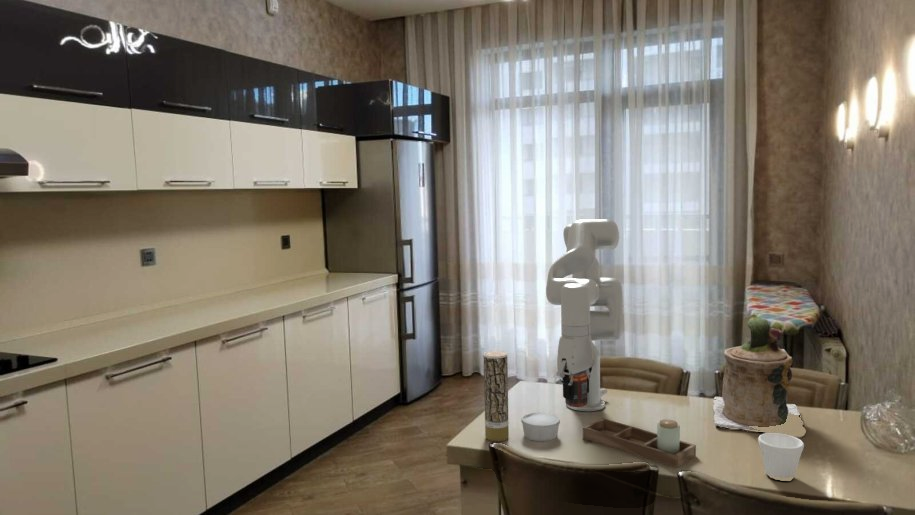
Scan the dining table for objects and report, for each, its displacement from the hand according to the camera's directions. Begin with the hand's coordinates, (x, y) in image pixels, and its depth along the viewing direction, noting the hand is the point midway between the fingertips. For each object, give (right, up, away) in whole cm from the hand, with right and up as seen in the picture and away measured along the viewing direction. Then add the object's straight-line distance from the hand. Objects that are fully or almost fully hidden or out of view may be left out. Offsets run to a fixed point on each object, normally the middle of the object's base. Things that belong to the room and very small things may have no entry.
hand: (576, 394), depth 172 cm
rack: (+17, -15, +3) cm, 23 cm away
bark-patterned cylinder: (-20, -16, +13) cm, 29 cm away
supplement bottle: (0, -3, 0) cm, 3 cm away
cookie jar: (+59, -13, +22) cm, 65 cm away
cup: (+47, -17, -16) cm, 52 cm away
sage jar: (+24, -15, -4) cm, 28 cm away
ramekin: (-8, -15, +14) cm, 22 cm away
